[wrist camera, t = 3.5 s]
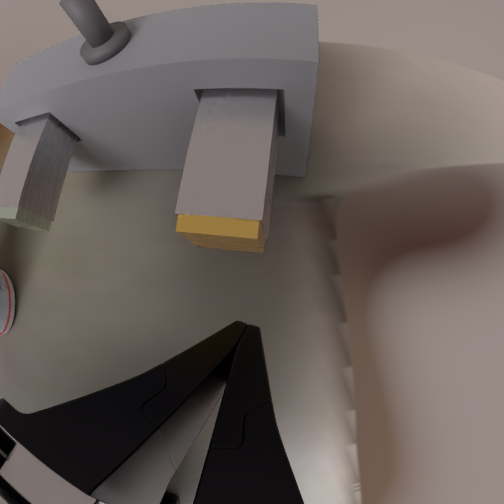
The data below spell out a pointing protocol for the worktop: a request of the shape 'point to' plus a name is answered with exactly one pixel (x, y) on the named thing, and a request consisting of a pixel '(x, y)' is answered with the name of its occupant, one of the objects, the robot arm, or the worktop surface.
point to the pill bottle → (6, 303)
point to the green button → (35, 172)
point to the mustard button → (230, 169)
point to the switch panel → (167, 80)
